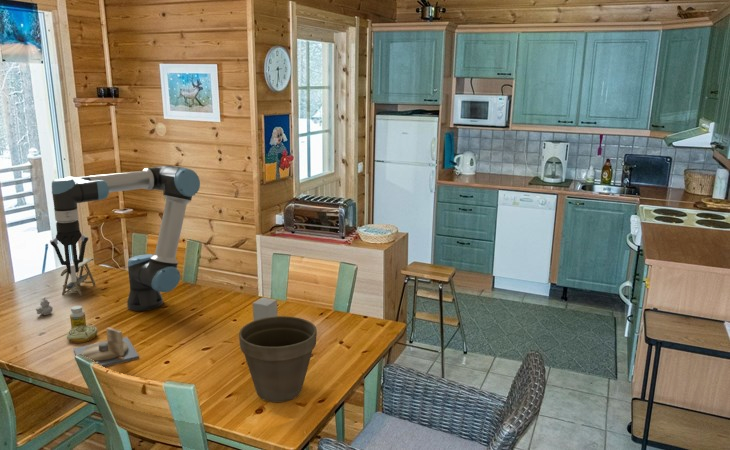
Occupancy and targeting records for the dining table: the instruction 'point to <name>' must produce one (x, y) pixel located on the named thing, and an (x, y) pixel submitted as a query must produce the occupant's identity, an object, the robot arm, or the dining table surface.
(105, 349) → the dial
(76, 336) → the decorated donut
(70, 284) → the swing bench
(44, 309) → the white animal figurine
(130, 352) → the dial plate
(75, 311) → the supplement bottle
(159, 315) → the dining table surface
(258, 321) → the plant pot
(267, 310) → the supplement box
